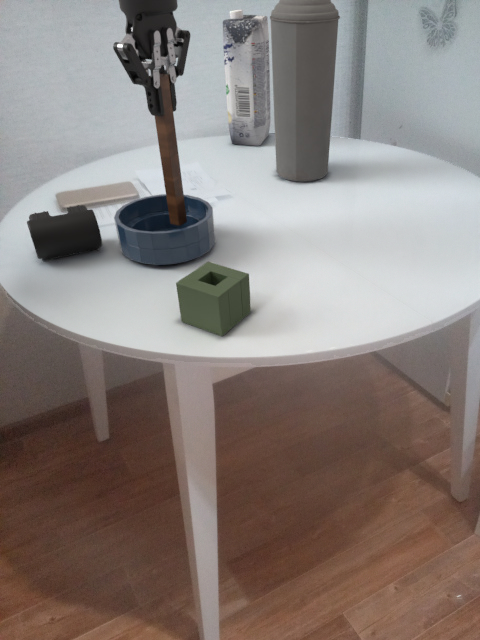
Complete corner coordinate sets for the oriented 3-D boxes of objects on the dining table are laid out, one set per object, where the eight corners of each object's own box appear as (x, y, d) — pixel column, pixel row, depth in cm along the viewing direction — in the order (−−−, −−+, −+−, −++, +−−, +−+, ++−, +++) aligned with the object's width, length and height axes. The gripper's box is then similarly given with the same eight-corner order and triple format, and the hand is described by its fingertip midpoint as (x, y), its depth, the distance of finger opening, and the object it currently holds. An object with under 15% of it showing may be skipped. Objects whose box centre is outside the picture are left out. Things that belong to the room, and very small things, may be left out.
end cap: (41, 269, 87) (28, 228, 83) (35, 250, 92) (23, 211, 88) (105, 255, 90) (96, 216, 86) (96, 238, 95) (87, 200, 91)
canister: (260, 177, 118) (254, -28, 95) (293, 160, 126) (294, -32, 104) (312, 189, 112) (318, -25, 90) (342, 170, 120) (355, -30, 98)
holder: (222, 336, 73) (218, 296, 69) (181, 321, 75) (175, 282, 72) (251, 312, 77) (249, 273, 73) (211, 299, 80) (207, 261, 76)
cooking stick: (179, 226, 92) (159, 77, 78) (170, 223, 92) (148, 75, 78) (187, 221, 93) (168, 74, 79) (177, 219, 94) (157, 73, 80)
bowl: (174, 278, 85) (169, 241, 81) (101, 254, 91) (93, 219, 87) (233, 239, 95) (231, 205, 91) (164, 220, 101) (159, 187, 97)
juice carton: (273, 135, 141) (270, 7, 123) (262, 148, 133) (258, 13, 116) (239, 133, 142) (232, 6, 125) (226, 145, 134) (217, 12, 117)
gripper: (157, -37, 77) (174, 99, 88) (81, -30, 68) (110, 121, 79) (200, -36, 74) (212, 105, 85) (127, -28, 65) (151, 129, 76)
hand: (163, 112), depth 82 cm, fingers closed on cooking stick, 2 cm apart
